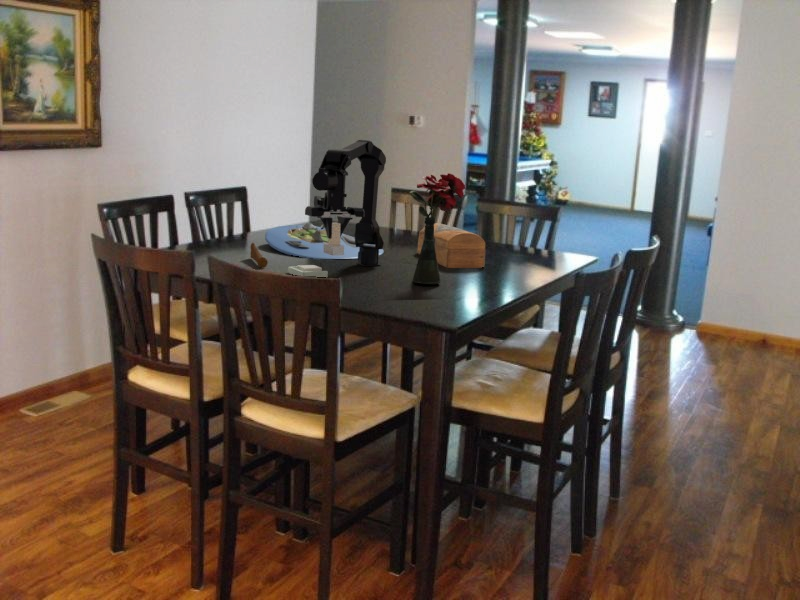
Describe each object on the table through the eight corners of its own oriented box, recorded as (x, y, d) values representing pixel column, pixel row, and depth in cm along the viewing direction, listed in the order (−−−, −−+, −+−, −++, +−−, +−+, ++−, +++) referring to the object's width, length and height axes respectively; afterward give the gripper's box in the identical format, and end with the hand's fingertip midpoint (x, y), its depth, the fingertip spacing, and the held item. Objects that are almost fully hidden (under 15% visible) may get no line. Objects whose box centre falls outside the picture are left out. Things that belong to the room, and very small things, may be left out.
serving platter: (400, 270, 311) (404, 239, 307) (298, 276, 287) (302, 242, 283) (342, 238, 345) (345, 209, 341) (247, 241, 321) (249, 210, 317)
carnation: (395, 277, 270) (402, 170, 263) (447, 277, 276) (454, 172, 269) (412, 285, 255) (419, 172, 248) (466, 285, 261) (474, 175, 255)
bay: (313, 271, 271) (313, 265, 270) (327, 277, 261) (327, 271, 261) (287, 272, 266) (288, 266, 266) (301, 278, 257) (302, 272, 256)
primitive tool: (251, 257, 289) (242, 256, 287) (253, 242, 287) (243, 241, 286) (267, 268, 272) (257, 268, 270) (269, 252, 271) (259, 252, 269)
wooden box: (414, 257, 318) (416, 222, 316) (453, 258, 324) (455, 223, 321) (442, 270, 291) (445, 231, 288) (484, 270, 296) (487, 232, 293)
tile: (313, 274, 268) (314, 265, 268) (321, 277, 263) (321, 267, 263) (297, 274, 265) (297, 265, 265) (304, 277, 260) (304, 268, 260)
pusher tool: (334, 251, 268) (335, 221, 266) (344, 255, 262) (344, 224, 260) (323, 252, 266) (323, 221, 264) (332, 255, 260) (333, 224, 258)
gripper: (350, 188, 272) (348, 235, 275) (298, 187, 262) (297, 235, 265) (366, 191, 262) (363, 239, 265) (313, 189, 253) (311, 240, 256)
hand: (333, 238), depth 263 cm, fingers closed on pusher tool, 3 cm apart
